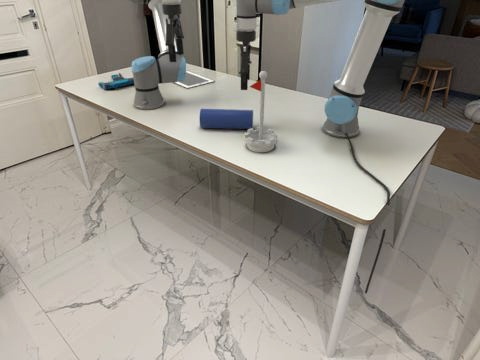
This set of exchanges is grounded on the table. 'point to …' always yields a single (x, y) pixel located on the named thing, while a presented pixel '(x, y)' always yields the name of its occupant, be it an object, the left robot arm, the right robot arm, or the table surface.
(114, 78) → the submachine gun
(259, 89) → the flag stand
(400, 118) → the table surface
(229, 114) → the rod
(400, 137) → the table surface
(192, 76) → the tablet
